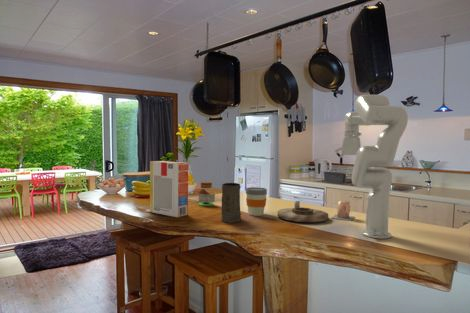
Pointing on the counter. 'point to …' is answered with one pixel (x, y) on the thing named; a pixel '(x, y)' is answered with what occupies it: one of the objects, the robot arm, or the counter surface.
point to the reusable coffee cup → (256, 200)
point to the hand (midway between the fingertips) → (350, 165)
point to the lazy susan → (302, 214)
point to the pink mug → (343, 209)
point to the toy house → (206, 195)
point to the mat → (343, 218)
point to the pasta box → (169, 188)
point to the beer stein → (231, 203)
